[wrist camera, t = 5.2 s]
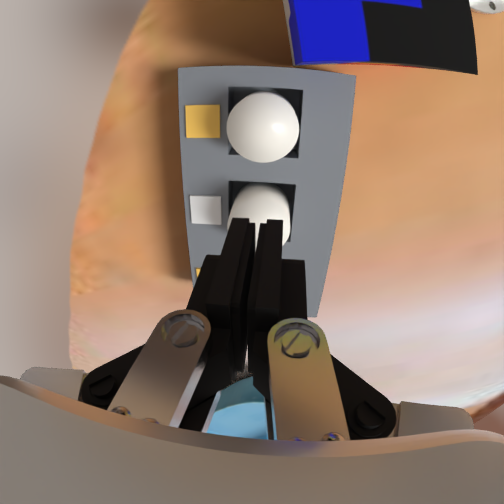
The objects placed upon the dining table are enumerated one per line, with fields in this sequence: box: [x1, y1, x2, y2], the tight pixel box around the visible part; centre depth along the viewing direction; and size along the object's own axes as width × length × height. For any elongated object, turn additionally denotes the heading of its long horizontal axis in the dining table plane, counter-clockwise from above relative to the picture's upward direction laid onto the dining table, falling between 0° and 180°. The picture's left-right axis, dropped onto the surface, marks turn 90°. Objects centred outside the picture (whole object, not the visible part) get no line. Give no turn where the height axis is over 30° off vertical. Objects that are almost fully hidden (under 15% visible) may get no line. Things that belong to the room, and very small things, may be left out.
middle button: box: [227, 182, 290, 252], centre depth 23 cm, size 4×4×4 cm
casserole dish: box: [207, 376, 267, 440], centre depth 48 cm, size 37×22×7 cm, turn 146°
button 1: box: [226, 91, 299, 163], centre depth 19 cm, size 4×4×4 cm
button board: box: [178, 66, 356, 317], centre depth 25 cm, size 12×22×4 cm, turn 178°
